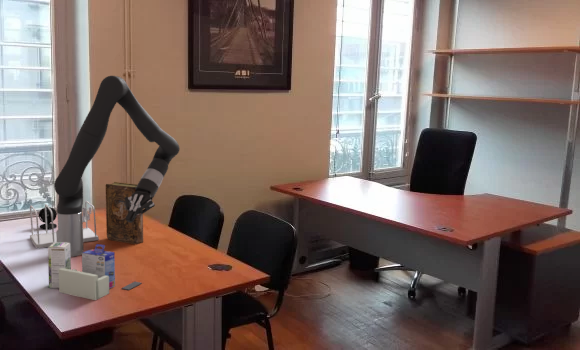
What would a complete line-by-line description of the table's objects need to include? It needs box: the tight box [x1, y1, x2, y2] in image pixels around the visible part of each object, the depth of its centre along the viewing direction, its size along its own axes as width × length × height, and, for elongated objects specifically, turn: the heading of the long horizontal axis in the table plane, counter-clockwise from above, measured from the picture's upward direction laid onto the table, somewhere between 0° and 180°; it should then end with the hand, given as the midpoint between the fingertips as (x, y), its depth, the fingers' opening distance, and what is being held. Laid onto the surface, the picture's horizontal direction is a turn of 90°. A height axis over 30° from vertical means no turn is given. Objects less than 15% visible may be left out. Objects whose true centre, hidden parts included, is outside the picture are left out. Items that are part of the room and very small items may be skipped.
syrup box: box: [47, 242, 72, 289], centre depth 188 cm, size 6×6×14 cm
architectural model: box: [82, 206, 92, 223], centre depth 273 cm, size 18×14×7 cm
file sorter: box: [29, 200, 99, 249], centre depth 241 cm, size 25×17×16 cm
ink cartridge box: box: [81, 243, 116, 290], centre depth 188 cm, size 10×6×14 cm, turn 70°
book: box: [105, 181, 144, 245], centre depth 241 cm, size 16×6×25 cm, turn 68°
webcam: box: [38, 206, 58, 231], centre depth 259 cm, size 8×8×10 cm
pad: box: [121, 281, 143, 291], centre depth 190 cm, size 3×7×1 cm, turn 157°
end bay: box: [58, 268, 110, 301], centre depth 183 cm, size 15×6×8 cm, turn 67°
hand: (128, 221), depth 201 cm, fingers closed
